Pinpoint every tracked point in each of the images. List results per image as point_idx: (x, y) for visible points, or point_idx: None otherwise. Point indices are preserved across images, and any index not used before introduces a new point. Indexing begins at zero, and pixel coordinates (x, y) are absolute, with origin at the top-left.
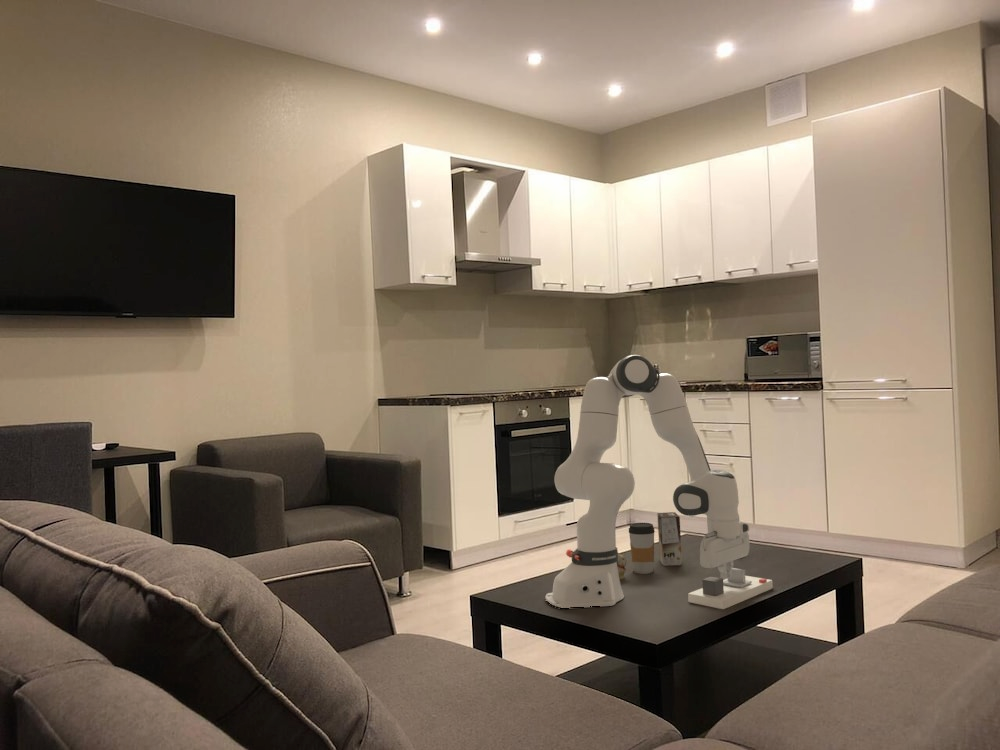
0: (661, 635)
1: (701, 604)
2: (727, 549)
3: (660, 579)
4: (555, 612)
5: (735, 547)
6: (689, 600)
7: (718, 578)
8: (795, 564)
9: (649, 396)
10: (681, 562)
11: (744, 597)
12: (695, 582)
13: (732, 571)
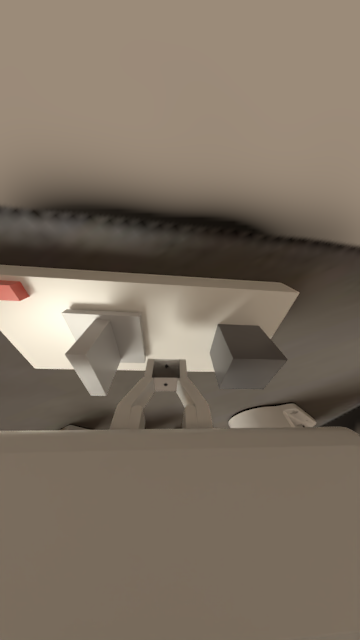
0: None
1: None
2: (211, 634)
3: (147, 415)
4: (325, 417)
5: (20, 632)
6: None
7: (234, 368)
8: None
9: None
10: (67, 428)
11: (168, 278)
12: (123, 391)
13: (104, 375)
